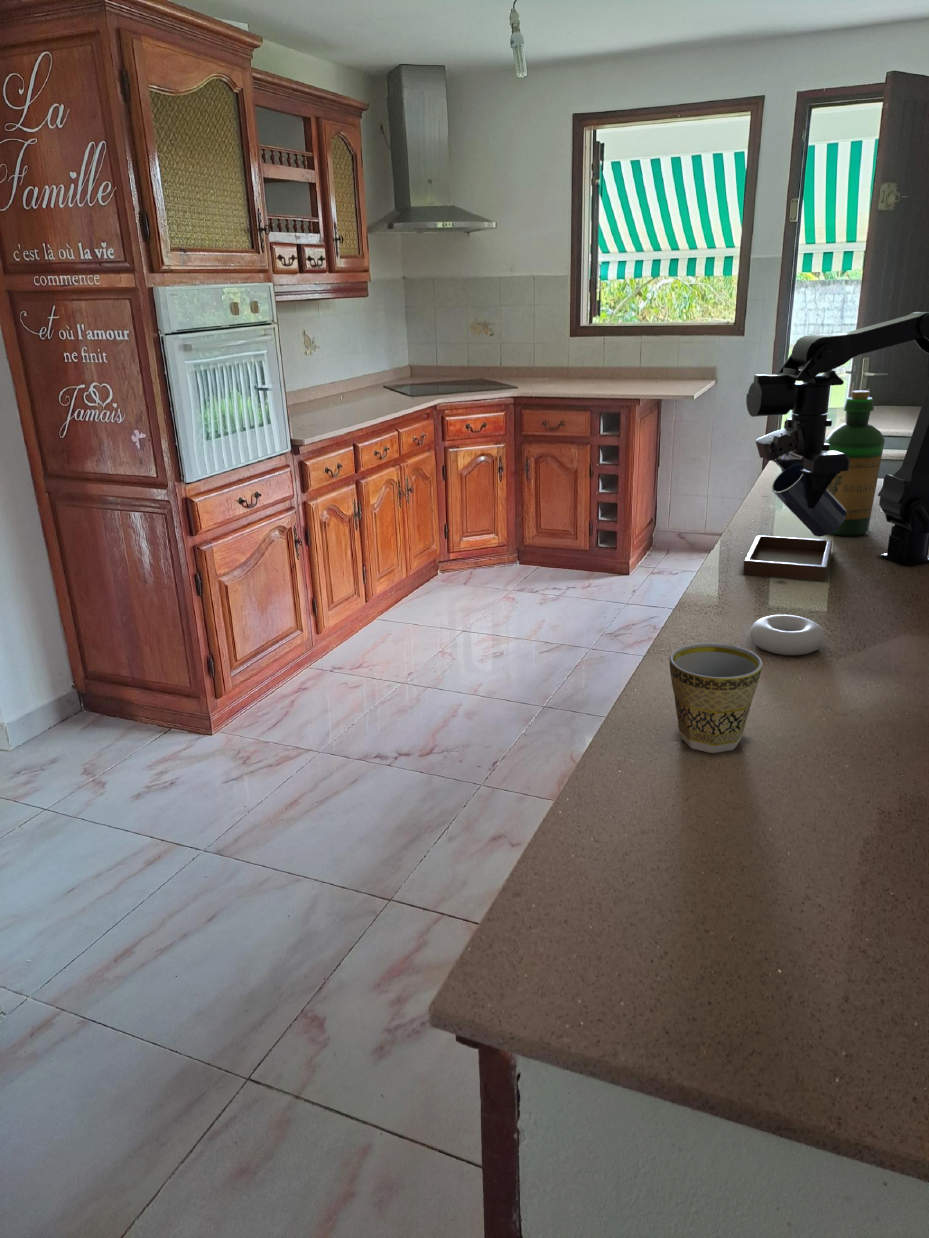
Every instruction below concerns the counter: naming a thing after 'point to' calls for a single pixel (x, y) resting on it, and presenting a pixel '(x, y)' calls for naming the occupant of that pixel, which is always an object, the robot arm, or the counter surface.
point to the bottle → (856, 463)
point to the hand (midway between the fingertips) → (801, 503)
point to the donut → (787, 634)
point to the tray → (788, 558)
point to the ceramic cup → (713, 693)
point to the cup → (794, 496)
